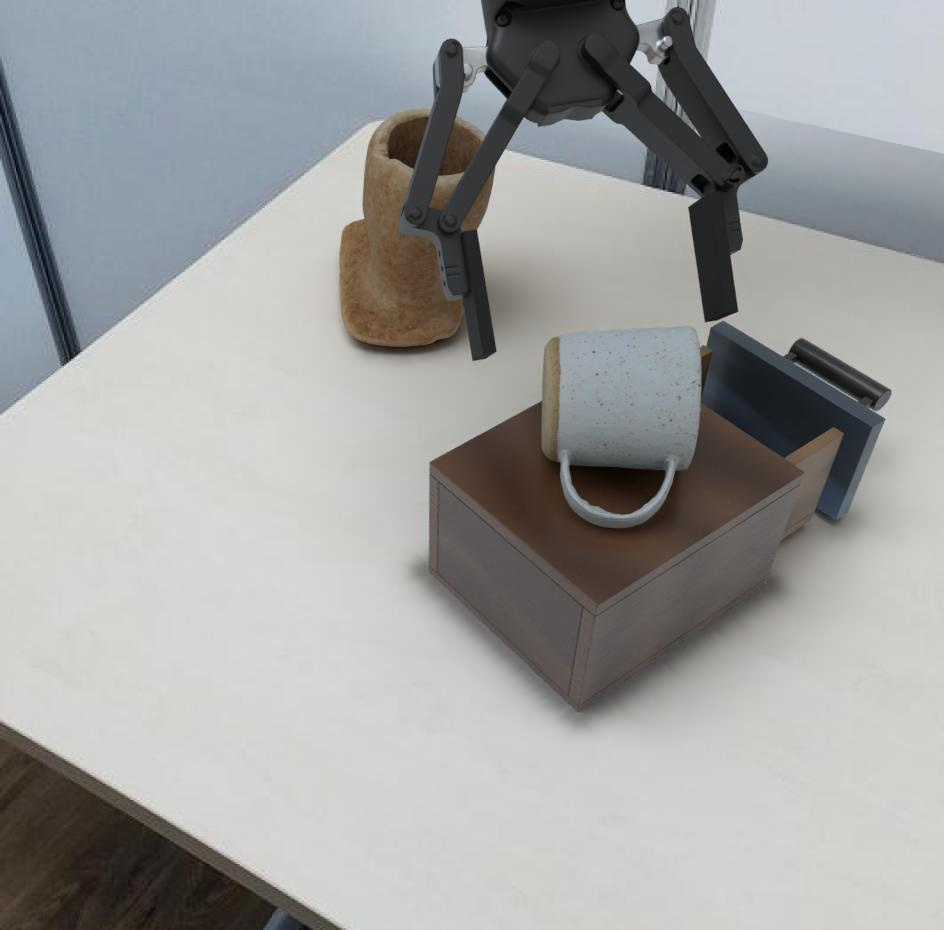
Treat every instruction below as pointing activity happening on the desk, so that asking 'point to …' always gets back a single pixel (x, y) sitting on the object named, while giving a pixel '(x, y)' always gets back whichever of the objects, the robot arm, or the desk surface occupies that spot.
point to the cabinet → (603, 547)
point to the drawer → (797, 413)
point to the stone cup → (403, 239)
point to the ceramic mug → (621, 407)
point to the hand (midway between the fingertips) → (604, 337)
